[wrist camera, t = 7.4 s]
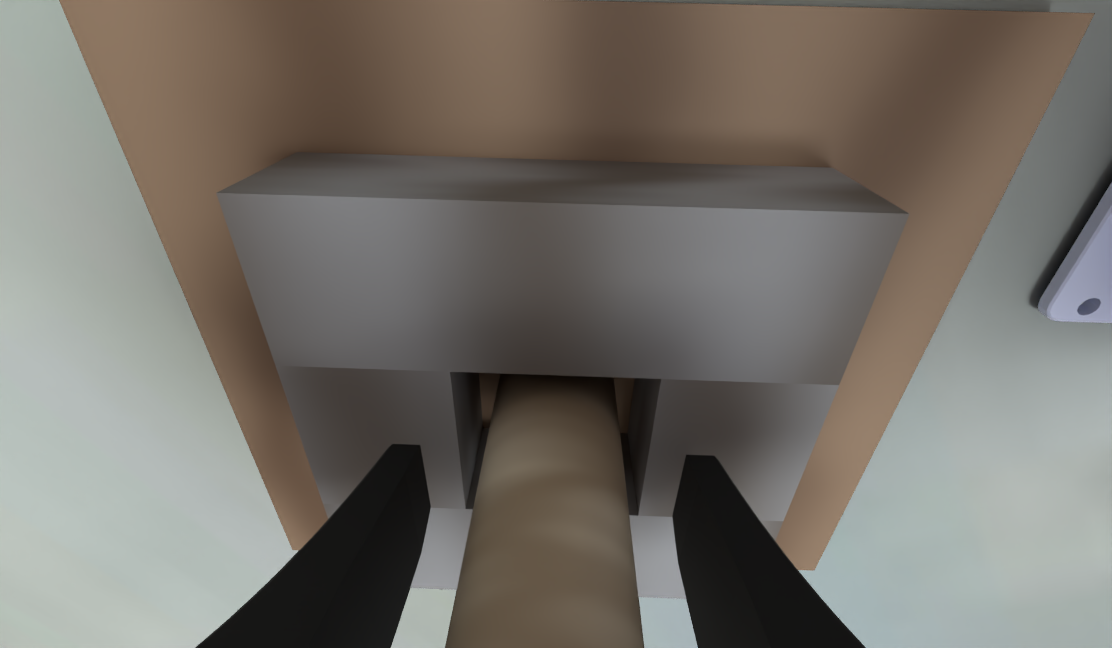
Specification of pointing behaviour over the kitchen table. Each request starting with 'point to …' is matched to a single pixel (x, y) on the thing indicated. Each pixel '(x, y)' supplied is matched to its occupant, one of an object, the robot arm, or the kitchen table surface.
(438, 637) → the kitchen table surface
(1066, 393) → the kitchen table surface
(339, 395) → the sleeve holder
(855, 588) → the kitchen table surface
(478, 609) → the peg
